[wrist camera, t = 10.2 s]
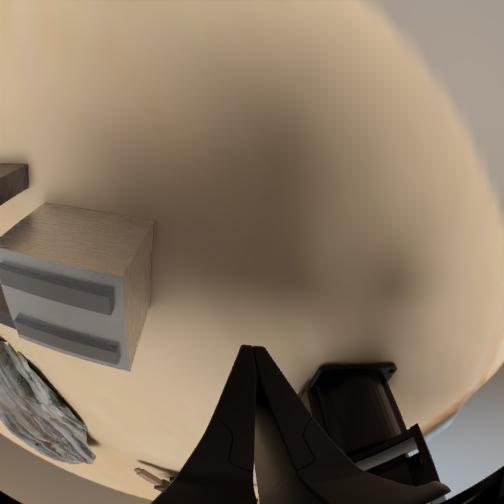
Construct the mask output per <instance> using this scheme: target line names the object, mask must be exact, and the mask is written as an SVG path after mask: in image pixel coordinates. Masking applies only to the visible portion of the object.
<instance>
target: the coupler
mask: <svg viewBox="0 0 504 504" xmlns="http://www.w3.org/2000/svg"><path fill="white" fill-rule="evenodd" d="M27 188H28V165H27V164H0V205H2V204H3V203H5V202H6V201H8V200H9V199H11V198H13V197H14V196H16V195H17V194H19V193H21V192H22V191H24V190H25V189H27ZM0 323H1V324H4V325H6V326H9V327H12V328H14V329H16V327H15V324H14V322H13V319H12V317H11V314H10V311H9V308H8V305H7V302H6V299H5V296H4V293H3V290H2V287H1V283H0Z"/></svg>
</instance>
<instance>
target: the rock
mask: <svg viewBox="0 0 504 504" xmlns="http://www.w3.org/2000/svg"><path fill="white" fill-rule="evenodd" d="M4 342H6V341H3V340H0V419H1V421H2V422H3V423H4V425H5V426H6V427H7V429H8V430H9V431H10V432H11V433H12V434H14V435H15V436H16V437H18V438H19V439H21V440H22V441H24V442H25V443H26V444H28V445H29V446H31V447H32V448H34V449H35V450H36V451H38V452H39V453H41V454H43V455H45V456H47V457H50V458H52V459H54V460H57V461H61V462H67V463H69V464H80V463H82V462H85V463H86V464H93V462H94V459H95V458H96V455H95V454H94V453H93V452H92V450H91V449H90V447H89V446H88V444H87V437H86V432H87V428H86V427H85V426H84V425H85V424H84V423H83V422H82V421H80V420H79V419H77V418H76V417H75V416H74V415H73V413H72V412H71V411H70V409H69V408H68V407H67V406H66V405H65V404H64V402H63V401H62V400H61V399H60V398H59V397H58V396H57V395H56V394H55V393H54V392H53V391H52V390H51V389H50V388H49V387H48V386H47V385H46V384H45V383H44V382H43V381H42V380H41V379H40V378H39V377H38V375H37V374H36V373H35V372H34V371H33V370H32V369H31V368H30V367H29V365H28V363H27V359H26V358H24V357H23V356H22V355H21V354H20V352H19V351H18V352H16V351H15V350H14V349H13V347H12V346H11V345H10V344H9V342H8V344H9V345H8V346H7V345H6V344H4Z"/></svg>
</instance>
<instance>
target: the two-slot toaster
mask: <svg viewBox="0 0 504 504" xmlns="http://www.w3.org/2000/svg"><path fill="white" fill-rule="evenodd" d="M153 229H154V220H149V219H143V218H137V217H131V216H125V215H119V214H113V213H107V212H101V211H94V210H88V209H82V208H75V207H69V206H62V205H56V204H49V203H44V204H42V205H41V206H40V207H38V208H37V209H36V210H34V211H33V212H31V213H30V214H29V215H28V216H26V217H25V218H24V219H22V220H21V221H20V222H18V223H17V224H16V225H15V226H13V227H12V228H11V229H10V230H9V231H7V232H6V233H5V234H4V235H3V236H1V237H0V283H1V287H2V290H3V293H4V296H5V299H6V302H7V305H8V308H9V311H10V314H11V317H12V319H13V322H14V324H15V327H16V330H17V332H18V334H19V337H20V338H23V339H25V340H28V341H30V342H33V343H36V344H38V345H41V346H44V347H47V348H50V349H52V350H55V351H58V352H61V353H64V354H68V355H71V356H74V357H77V358H81V359H84V360H87V361H91V362H95V363H98V364H102V365H106V366H110V367H114V368H118V369H122V370H126V371H130V370H131V367H132V363H133V360H134V356H135V353H136V349H137V346H138V343H139V339H140V336H141V333H142V330H143V326H144V323H145V320H146V317H147V314H148V311H149V308H150V280H151V259H152V243H153Z"/></svg>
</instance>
